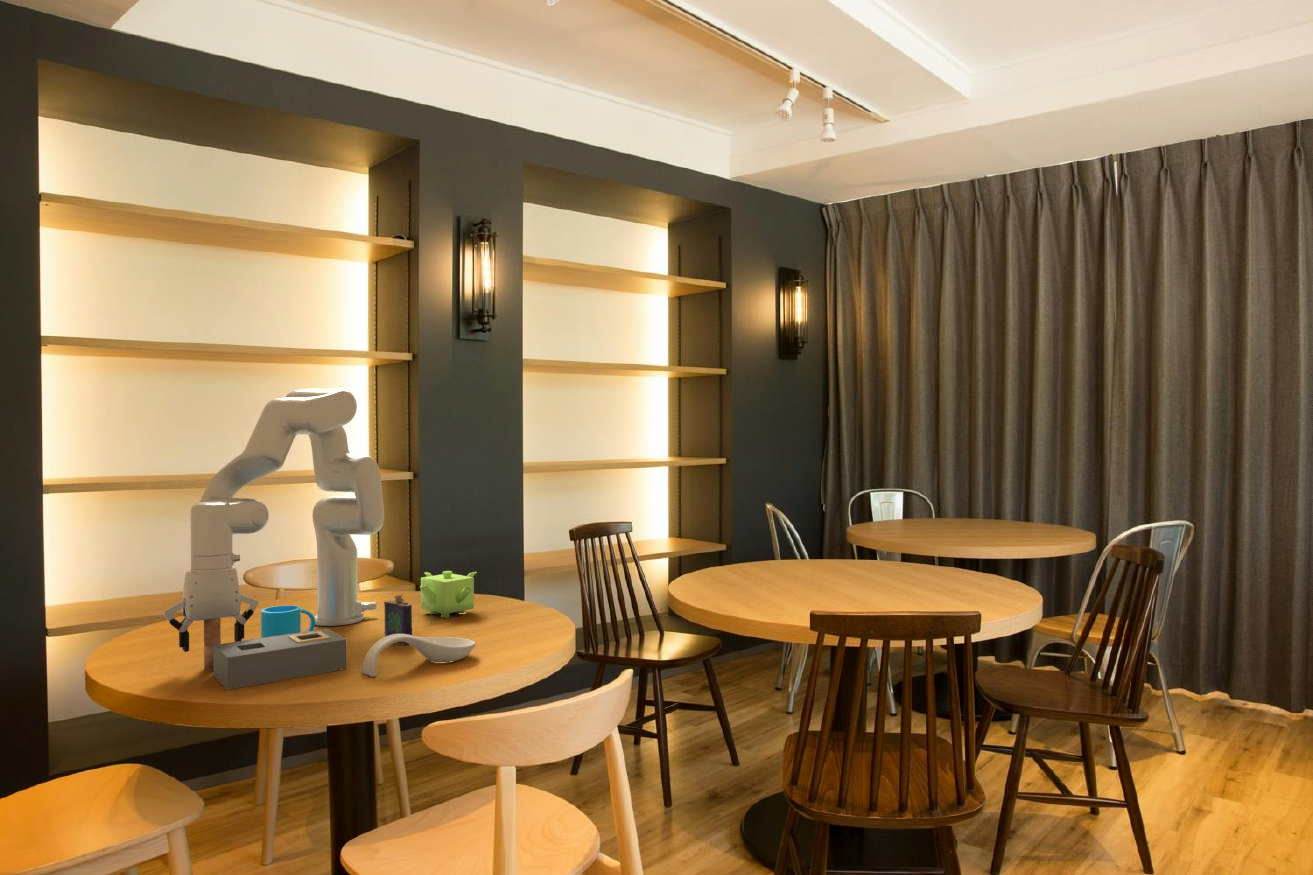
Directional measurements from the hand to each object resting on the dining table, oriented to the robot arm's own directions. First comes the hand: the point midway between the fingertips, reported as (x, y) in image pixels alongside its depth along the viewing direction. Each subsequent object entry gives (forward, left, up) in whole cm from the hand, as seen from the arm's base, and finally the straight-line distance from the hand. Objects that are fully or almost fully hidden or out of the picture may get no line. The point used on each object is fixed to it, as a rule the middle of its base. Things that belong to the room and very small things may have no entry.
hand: (212, 646), depth 173 cm
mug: (-18, -11, -5) cm, 22 cm away
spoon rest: (-34, +24, -5) cm, 42 cm away
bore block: (-10, +12, -4) cm, 16 cm away
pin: (0, 0, -4) cm, 4 cm away
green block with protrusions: (-60, -18, -5) cm, 63 cm away
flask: (-38, +3, -5) cm, 38 cm away
